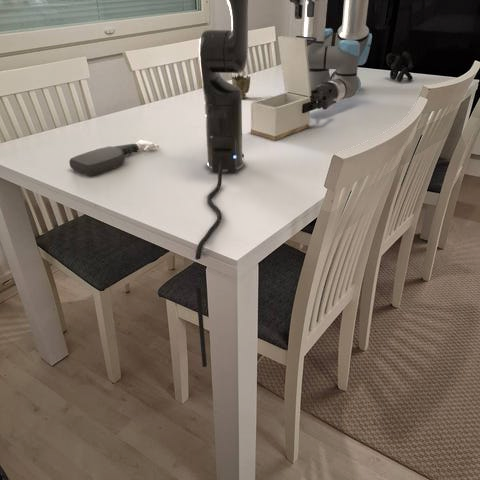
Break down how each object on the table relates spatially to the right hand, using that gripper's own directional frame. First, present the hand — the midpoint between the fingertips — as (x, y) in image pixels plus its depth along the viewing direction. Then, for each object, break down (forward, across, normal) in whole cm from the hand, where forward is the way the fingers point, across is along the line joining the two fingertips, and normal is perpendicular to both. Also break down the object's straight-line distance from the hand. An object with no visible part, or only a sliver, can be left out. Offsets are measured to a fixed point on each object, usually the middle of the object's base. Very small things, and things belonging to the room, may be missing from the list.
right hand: (289, 105), depth 143 cm
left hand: (-5, 0, +25) cm, 26 cm away
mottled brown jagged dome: (-16, +37, -7) cm, 41 cm away
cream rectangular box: (+4, 0, -7) cm, 8 cm away
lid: (-1, 0, +11) cm, 12 cm away
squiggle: (-85, +4, -7) cm, 85 cm away
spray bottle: (+54, +18, -7) cm, 57 cm away
